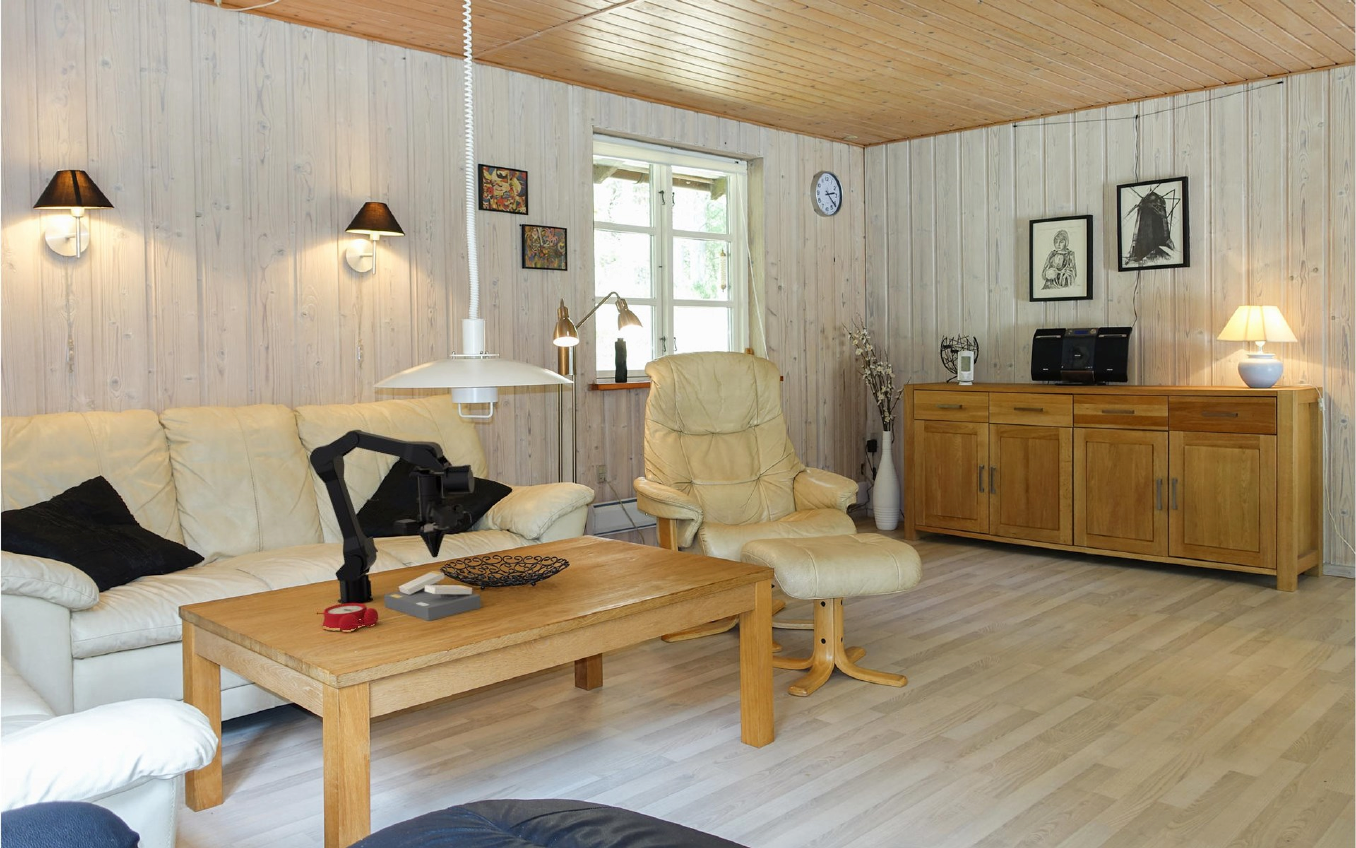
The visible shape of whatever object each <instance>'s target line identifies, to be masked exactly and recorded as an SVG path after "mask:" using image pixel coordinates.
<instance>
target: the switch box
mask: <svg viewBox="0 0 1356 848" xmlns="http://www.w3.org/2000/svg"><path fill="white" fill-rule="evenodd" d="M431 585H441V584H440V583H438V582H436V583H433V584H431ZM383 596H384V607H385V608H386V609H390V610H393V611H396V612H399V613H403V614H406V615H409V616H412V617H414V616H416V617H415V618H417V617H418V618H417V619H421V618H422V619H421V620H424V621H427V622H430V621H434V620H438V619H443V618H446V617H450V616H454V615H458V614H459V615H460V614H463V613H465V612H470V611H475V610H477V609H481V608H482V604H481V603H482V600H481V599H482V598H481V595H480V594H477V593H473V592H472V594H433V593H429V592H426V591H425V588H423V589H421V590H418V591H416V592H414V593H412V594H410V595H409V594H405V593H402V592H400V590H399V591H394V592H391V593H387V594H384V595H383Z"/></svg>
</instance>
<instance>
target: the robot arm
mask: <svg viewBox="0 0 1356 848" xmlns="http://www.w3.org/2000/svg"><path fill="white" fill-rule="evenodd" d="M356 448H358V449H362V450H366V451H367V450H368V451H370V452H371V451H372V452H375V453H380V454H385V455H390V456H394V457H399V458H402V459H404V460H405V461H407V462H408V463H411V464H413V465H414V468H413V470H412V471H411V472H410V473H409V474H408V476H409V477H410V478H417V483H418V485H417V486H418V498H416V503H417V504H419V514H417V520H413V519H410V518H409V519H408V518H407V519H401V520H395V521H394V523H393V525H392V533H394V534H396V535H397V534H398V535H402V536H407V535H408V536H409V535H414V534H418V535H419V536H420V537H421V539H422V540H423V542H424V544H425V546H426V547H427V550H428V551H429V554H430V556H431V557H432V558H438V556H439V553H440V549H441V545H442V542H443V539H444V537H445V536H446V534H447V533H448V532H449V531H452V527H456V526H457V523H458V524H460V525H461V526H464V525H469V524H472V516H471V513H469V511H465V510H464V506H463V505H462V504H461V503H457V504H454V505H451V506H450V505H449V504H448V499H447V497H444V491H445V492H447V493H448V494H472V493H474V490H475V476H474V472H473V470H472V466H471V464H464V465H453V464H452V463H451V462H450V461H449V459H448V458H447V457H446V456H445V455H444V450H443V448H442V446H441V444H439V443H438V442H436V441H426V440H425V441H421V440H417V441H416V440H415V441H414V440H413V441H411V440H408V441H407V440H403V439H398V438H393V437H388V436H384V435H381V434H375V433H370V432H366V431H363V430H361V429H353V430H349V431H347V432H346V433H345V434H344V435H342V436H340V437H338V438H337V439H336V440H334V441H332V442H330V443H328V444H325V445H321V446H317V447H316V448H314V449H313V450H312V451H311V453H310V455H309V462H310V464H311V467H312V469H313V470H314V472H315V474H316V475H317V477H318V478H319V479H320V480H321V481H322V482H323V483H324V485H325V488H326V491H327V494H328V497H329V500H330V503H331V506H332V509H333V511H334V514H335V518H336V521H337V523H338V526H339V530H340V532H341V535H342V538H343V539H342V540H343V542H342V556H343V562H344V563H343V564H342V565H341V566H340V567H339V569H338V570H336V571H335V576H336V578H337V581H338V583H339V593H340V594H339V596H340V599H337V602H338V603H340V604H346V603H361V604H364V603H368V602H371V601H374V597H372V596H373V595H372V594H373V593H372V581H371V580H370V578H369V577H370V576H369V574H368V573H370V570H371V567H373V566H374V564H375V563H376V560H377V559H378V558H377V553H378V552H379V550H378V548H376V546H375V541H374V540H375V539H374V537H373V536H370V537H367V536H366V535H365V534H364V533H363V531H362V528H361V526H360V522H359V519H358V517H357V513H356V510H355V507H354V505H353V501H352V498H351V495H350V493H349V489H348V486H347V483H346V480H345V465H346V464H345V460H344V457H345V456H347V455H348V454H349V453H351V452H352V451H353V450H355V449H356Z"/></svg>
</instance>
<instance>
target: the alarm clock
mask: <svg viewBox="0 0 1356 848" xmlns="http://www.w3.org/2000/svg"><path fill="white" fill-rule="evenodd" d="M316 615H323V618H324V619H323V622H322V624H323V626H326V627H329V628H340V630H351V629H355V628H358V626H362V625H365V627H367V626H371V625H373V624H375V625H377V624H378V622H379V621H378V620H379V613H378V610H377V609H376V608H373V607H369V608H368V606H367V605H366V604H364V603H346V604H343V603H340V604H335V605H332V606H328V607H327V608H325V609H324V611H323V612H318V611H316ZM359 619H361V620H359ZM358 629H359V628H358Z"/></svg>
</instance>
